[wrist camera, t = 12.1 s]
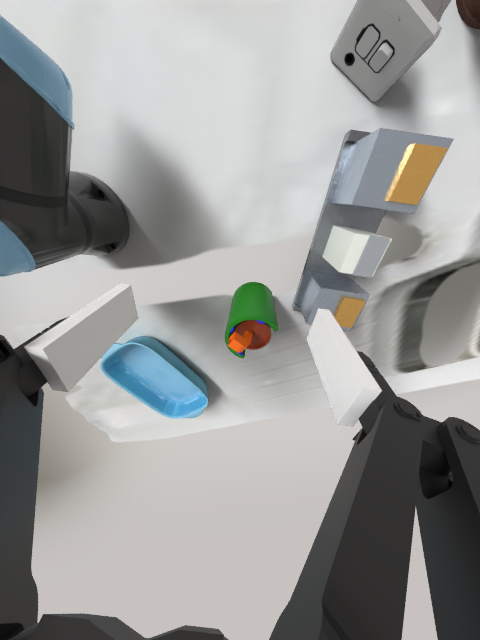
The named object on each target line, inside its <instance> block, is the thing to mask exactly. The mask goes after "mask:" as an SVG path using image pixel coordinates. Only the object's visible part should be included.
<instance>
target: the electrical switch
mask: <svg viewBox="0 0 480 640" xmlns="http://www.w3.org/2000/svg"><path fill="white" fill-rule="evenodd" d="M450 1H451V0H357V2H356V4H355V6H354V8H353V10H352V12H351V14H350V16H349V18H348V20H347V22H346V24H345V26H344V28H343V30H342V32H341V34H340V35H339V37H338V39H337V41H336V43H335V45H334V47H333V49H332V51H331V60H332V61H333V62H334V63H335V64H336V65H337V66H338V67H339V68H340V69H341V70H342V71H343V72H344V73H345V74H346V75H347V76H348V77H349V78H350V79H351V81H352V82H353V83H354V84H355V85H356V86H357V87H358V88H359V89H360V90H361V91H362V92H363V93H364V94H365V95H366V96H367V97H368V98H369V99H370V100H371V101H373V102H375V101H378V100H379V99H380V98H381V97H382V96H383V95H384V94H385V93H386V92H387V91H388V90H389V88H390V87H391V86H392V85H393V84H394V83H395V82H396V81H397V80H398V79H399V78H400V77H401V76H402V75H403V74H404V73H405V72H406V71H407V70H408V69H409V68H410V67H411V66H412V65H413V64H414V63H415V62H416V61H417V60H418V59H419V57H420V56H421V55H422V54H423V53H424V52H425V51H426V50H427V49H428V48H429V47H430V46H431V45H432V44H433V42H434V41H435V40H436V38H437V37H438V35H439V33H440V31H441V28H442V27H441V26H440V25H439V23H438V22H439V21H440V19H441V16H442V14H443V12H444V11H445V9H446V8H447V6H448V4H449V3H450Z"/></svg>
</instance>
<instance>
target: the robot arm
mask: <svg viewBox="0 0 480 640" xmlns="http://www.w3.org/2000/svg"><path fill="white" fill-rule="evenodd" d="M72 129H74V124H73V122H72V89H71V86H70V83H69V81H68V79H67V77H66V75H65V74H64V72H63V71H62V69H61V68H60V67H59V66H58V65H57V64H56V63H55V62H54V61H53V60H52V59H51V58H50V57H49V56H48V55H47V54H45V53H44V52H43V51H42V50H41V49H40V48H39V47H37V46H36V45H35V44H34V43H33V42H32V41H30V40H29V39H28V38H27V37H26V36H24V35H23V34H22V33H21V32H20V31H19V30H17V29H16V28H15V27H14V26H13V25H11V24H10V23H9V22H8V21H7V20H5V19H4V18H3V17H2V16H1V15H0V276H9V275H13V274H17V273H21V272H30V271H32V270H35V269H37V268H41V267H43V266H46V265H49V264H52V263H55V262H58V261H61V260H64V259H67V258H70V257H73V256H76V255H79V254H85V255H96V256H104V255H109V254H112V253H115V252H117V251H119V250H120V249H122V248H123V246H124V245H125V244H126V242H127V239H128V235H129V223H128V218H127V215H126V212H125V210H124V208H123V206H122V204H121V202H120V200H119V199H118V197H117V196H116V195H115V193H114V192H113V191H112V190H111V189H110V188H109V187H108V186H107V185H106V184H105V183H103V182H102V181H100V180H99V179H97V178H96V177H94V176H91V175H89V174H86V173H80V172H73V171H70V158H71V142H72ZM137 319H138V315H137V311H136V306H135V301H134V297H133V292H132V288H131V285H127V284H119V285H117V286H116V287H114V288H113V289H111V290H110V291H108V292H106V293H105V294H103V295H102V296H100V297H99V298H97V299H96V300H94V301H93V302H91V303H90V304H88V305H87V306H85V307H84V308H82V309H81V310H79V311H78V312H76V313H74V314H73V315H72V316H69V317H67V318H64V319H62V320H59V321H57V322H56V323H54V324H53V325H51V326H50V327H49V328H46V329H45V330H43V331H42V333H39V334H37V335H36V336H34V337H32V338H31V339H29V340H28V341H26V342H25V343H23V344H21V345H20V346H18V347H17V348H15V349H13V348H12V347H11V345H10V344H9V342H8V341H7V340H6V338H5V337H4V336H2V335H0V640H228V639H227V638H225V637H224V635H223V634H222V632H221V631H220V630H219V629H213V628H204V627H196V626H187V625H185V626H182V627H179V628H177V629H174V630H171V631H168V632H166V633H163V634H160V635H157V636H155V637H152V638H144V637H142V636H141V635H140V634H139V633H137V632H136V631H134V630H133V629H132V628H130V627H129V626H128V625H126V624H125V623H123V622H122V621H121V620H119V619H118V618H116V617H108V616H99V615H90V614H43V616H42V618H41V620H40V622H39V623H37V617H38V616H37V615H38V593H37V586H36V584H35V581H34V579H33V576H32V573H31V557H32V545H33V530H34V517H35V504H36V491H37V477H38V464H39V451H40V437H41V436H40V435H41V423H42V410H43V397H44V392H43V390H42V388H41V387H42V386H43V385H44V384H45V383H47V382H48V384H49V385H50V387H51V388H52V390H57V391H66V392H69V391H70V390H71V389H72V388H73V387H74V386H75V385H76V384H77V383H78V381H79V380H80V379H81V378H82V377H83V376H84V375H85V374H86V373H87V372H88V371H89V370H90V369H91V368H92V367H93V366H94V365H95V363H96V362H97V361H98V360H99V359H100V358H101V357H102V356H103V355H104V354H105V353H106V352H107V351H108V350H109V349H110V348H111V347H112V345H113V344H114V343H115V342H116V341H117V340H118V339H119V338H120V337H121V336H122V335H123V334H124V333H125V332H126V331H127V330H128V329H129V327H130V326H131V325H132V324H133V323H134V322H135V321H136V320H137ZM307 342H308V344H309V347H310V350H311V353H312V355H313V358H314V361H315V364H316V366H317V369H318V372H319V375H320V377H321V380H322V383H323V386H324V388H325V391H326V394H327V397H328V399H329V402H330V405H331V408H332V410H333V413H334V416H335V419H336V421H337V424H338V425H346V426H354V425H355V423H356V422H357V421H358V420H360V423H361V425H362V427H363V428H362V429H361V430H360V431H359V432H358V433H357V434H356V436H355V437H354V438H353V440H354V441H355V440H356V441H355V443H354V446H353V448H352V450H351V453H350V456H349V458H348V460H347V463H346V465H345V468H344V470H343V473H342V475H341V477H340V480H339V482H338V485H337V487H336V490H335V492H334V495H333V497H332V499H331V502H330V504H329V507H328V509H327V512H326V514H325V517H324V519H323V521H322V524H321V527H320V529H319V531H318V534H317V536H316V538H315V541H314V543H313V546H312V548H311V551H310V553H309V555H308V558H307V560H306V563H305V565H304V568H303V570H302V573H301V575H300V577H299V580H298V583H297V585H296V587H295V590H294V592H293V594H292V597H291V599H290V601H289V603H288V605H287V606H286V608H285V609H284V611H283V612H282V614H281V616H280V617H279V619H278V621H277V623H276V625H275V628H274V630H273V632H272V634H271V637H270V639H269V640H401V638H402V629H403V619H404V610H405V601H406V591H407V582H408V572H409V563H410V553H411V544H412V534H413V525H414V516H415V507H416V509H417V515H418V521H419V526H420V533H421V539H422V545H423V552H424V558H425V564H426V570H427V576H428V582H429V588H430V594H431V601H432V606H433V612H434V619H435V625H436V631H437V637H438V640H480V430H478V429H477V428H476V427H474V426H473V425H471V424H469V423H467V422H465V421H464V420H461V419H458V418H455V417H449V418H447V419H446V420H445V421H444V422H442V423H441V422H439V421H436V420H433V419H430V418H428V417H425V416H423V415H422V414H421V413H420V411H419V410H418V409H417V408H416V407H415V406H414V405H413V404H411V403H410V402H408V401H407V400H404V399H402V398H400V397H397V396H396V395H395V393H394V392H393V390H392V389H391V388H390V386H389V385H388V383H387V382H386V381H385V379H384V378H383V376H382V375H381V374H380V372H379V371H378V369H377V368H375V365H374V364H373V362H372V361H371V359H370V358H369V357H367V356H366V355H365V354H364V353H363V352H358V351H356V350H355V349H354V347H353V345H352V344H351V342H350V341H349V339H348V338H347V336H346V335H345V333H344V332H343V330H342V329H341V327H340V326H339V324H338V323H337V321H336V319H335V318H334V316H333V315H332V313H331V312H330V310H327V309H319V308H318V310H317V313H316V316H315V318H314V321H313V324H312V326H311V329H310V331H309V334H308V337H307Z"/></svg>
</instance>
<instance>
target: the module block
mask: <svg viewBox="0 0 480 640" xmlns="http://www.w3.org/2000/svg"><path fill="white" fill-rule="evenodd" d="M391 240H392V239H391V238H388V237H384V236H381V235H378V234H375V233H371V232H368V231H365V230H361V229H354V228H347V227H341V226H334V225H333V228H332V230H331V233H330V236H329V239H328V242H327V245H326V248H325V250H324V253H323V256H322V257H323V258H324V259H325V260H326V261H327V262H328V263H330V264H331V265H332V266H333V267H334V268H335V269H336V270H337V271H338V272H341V273H348V274H353V275H354V276H361V277H368V278H371V277H373V275H374V273H375V271H376V269H377V268H378V266H379V263H380V262H381V260H382V258H383V256H384V254H385V252H386V250H387V248H388V246H389V244H390V242H391Z"/></svg>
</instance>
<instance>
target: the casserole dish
mask: <svg viewBox="0 0 480 640" xmlns="http://www.w3.org/2000/svg"><path fill="white" fill-rule="evenodd" d="M100 368H101V370H102V372H103V373H104V374H105V375H106V376H107V377H108V378H109V379H110V380H112V381H113V382H114V383H116V384H117V385H118V386H120V387H121V388H123V389H124V390H125V391H127V392H128V393H130V394H131V395H133V396H134V397H136V398H137V399H138V400H140V401H141V402H143V403H144V404H146V405H147V406H149V407H150V408H152V409H153V410H155V411H156V412H158V413H160V414H161V415H163V416H166V417H169V418H174V419H177V418H194V417H197V416H199V415H201V414H202V413H203V409H204V408H206V407H207V405H208V403H209V401H208V391H207V387H206V385H205V383H204V382H203V380H202V379H201V378H200V377H199V376H198V375H197V374H196V373H194V372H193V371H192V370H191V369H190V368H189V367H188V366H187V365H186V364H184V363H183V362H182V361H181V360H180V359H179V358H178V357H177V356H176V355H174V354H173V353H172V352H171V351H170V350H169V349H168V348H166V347H165V346H164V345H162V344H161V343H160V342H158V341H157V340H155V339H153V338H150V337H146V336H141V337H137V338H134V339H132V340H130V341H128V342H126V343H125V344H118V343H114V344H113V345H112V347H111V348H110V349H109V350H108V351H107V352H106V353H105V354H104V355H103V356H102V361H101V363H100Z"/></svg>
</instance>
